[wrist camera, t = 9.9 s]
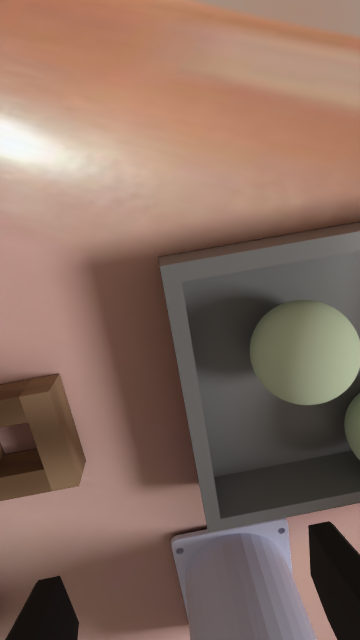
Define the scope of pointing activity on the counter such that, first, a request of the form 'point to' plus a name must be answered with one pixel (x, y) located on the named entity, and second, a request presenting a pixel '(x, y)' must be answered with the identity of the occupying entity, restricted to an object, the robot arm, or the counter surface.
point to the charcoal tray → (245, 388)
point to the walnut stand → (40, 439)
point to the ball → (353, 425)
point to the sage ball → (305, 352)
